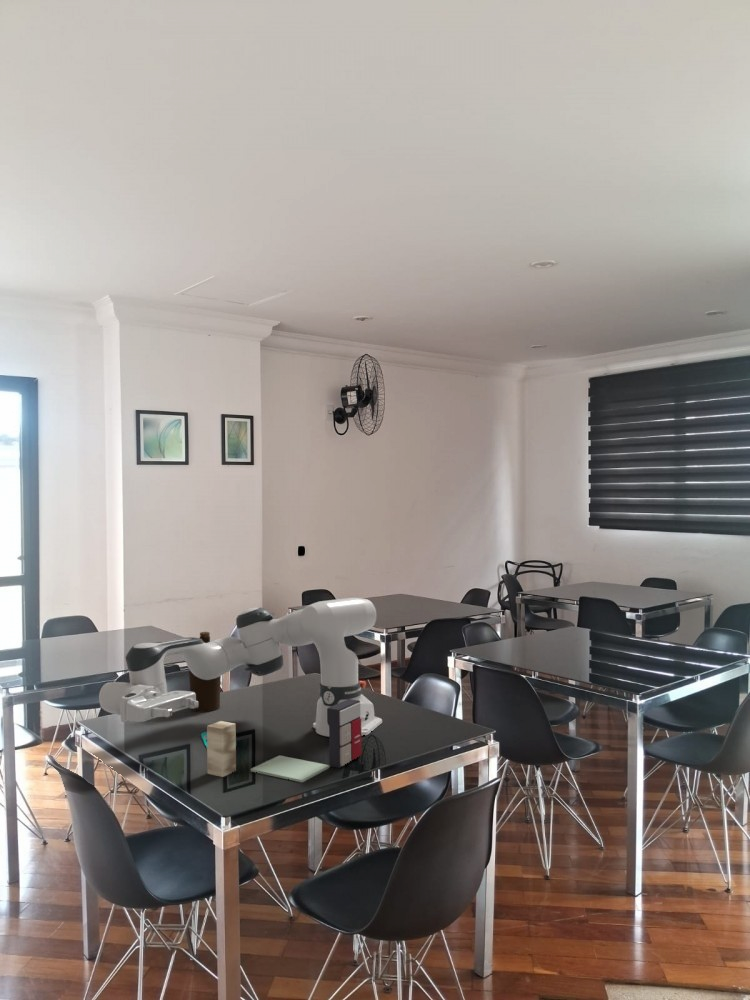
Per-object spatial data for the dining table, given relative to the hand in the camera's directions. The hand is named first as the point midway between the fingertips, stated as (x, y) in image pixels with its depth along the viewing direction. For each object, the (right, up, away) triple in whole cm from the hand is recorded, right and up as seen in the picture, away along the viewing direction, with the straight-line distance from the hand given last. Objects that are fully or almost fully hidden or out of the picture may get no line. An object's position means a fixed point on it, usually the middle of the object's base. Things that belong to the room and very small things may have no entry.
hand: (183, 709), depth 203 cm
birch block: (+11, -14, -6) cm, 19 cm away
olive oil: (-6, -15, +55) cm, 58 cm away
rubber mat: (+28, -14, -4) cm, 32 cm away
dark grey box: (+42, -14, +1) cm, 44 cm away
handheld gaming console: (+5, -15, +21) cm, 26 cm away
